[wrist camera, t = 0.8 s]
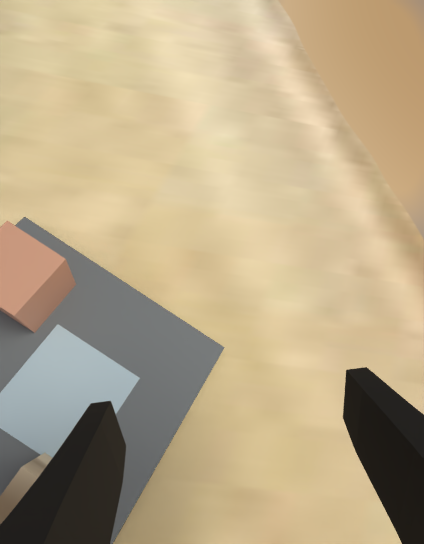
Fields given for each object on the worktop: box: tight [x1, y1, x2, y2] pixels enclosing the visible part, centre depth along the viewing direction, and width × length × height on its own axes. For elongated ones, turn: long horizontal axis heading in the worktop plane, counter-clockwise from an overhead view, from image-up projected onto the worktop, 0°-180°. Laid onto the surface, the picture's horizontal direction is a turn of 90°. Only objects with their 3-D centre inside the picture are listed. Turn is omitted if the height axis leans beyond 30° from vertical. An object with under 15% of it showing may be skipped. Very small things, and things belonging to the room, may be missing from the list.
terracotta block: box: [0, 221, 76, 333], centre depth 21 cm, size 4×4×4 cm
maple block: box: [0, 453, 52, 524], centre depth 17 cm, size 4×4×4 cm
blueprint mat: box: [0, 217, 224, 544], centre depth 21 cm, size 17×17×1 cm
